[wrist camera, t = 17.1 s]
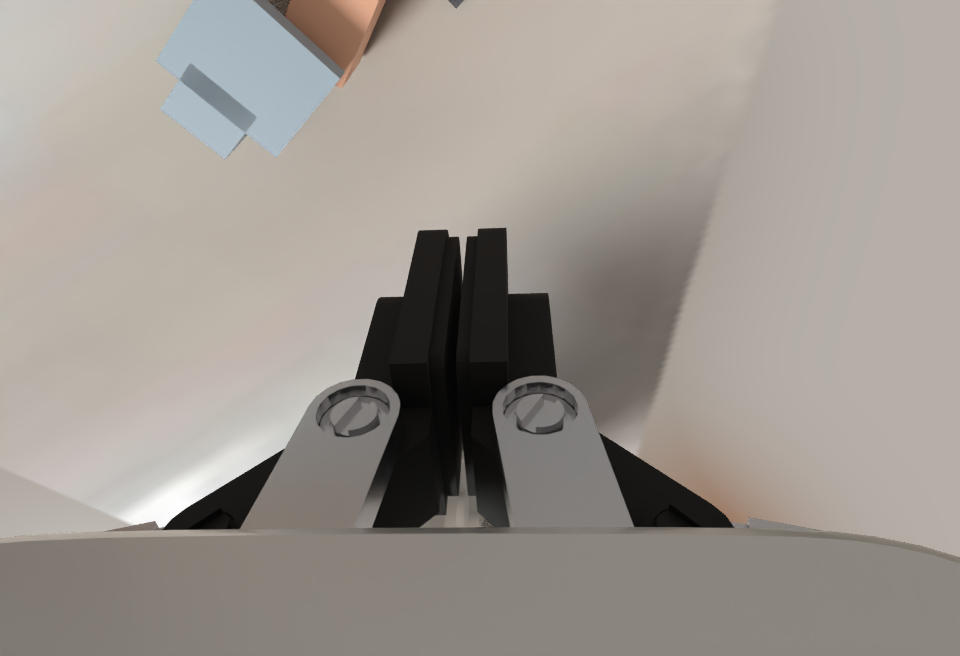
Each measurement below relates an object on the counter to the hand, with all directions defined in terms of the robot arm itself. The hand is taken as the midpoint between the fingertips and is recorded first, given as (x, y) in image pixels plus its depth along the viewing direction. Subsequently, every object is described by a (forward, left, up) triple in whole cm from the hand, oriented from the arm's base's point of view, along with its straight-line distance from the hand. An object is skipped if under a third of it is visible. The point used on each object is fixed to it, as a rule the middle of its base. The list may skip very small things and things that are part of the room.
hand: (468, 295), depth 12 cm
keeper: (+7, +7, -21) cm, 23 cm away
